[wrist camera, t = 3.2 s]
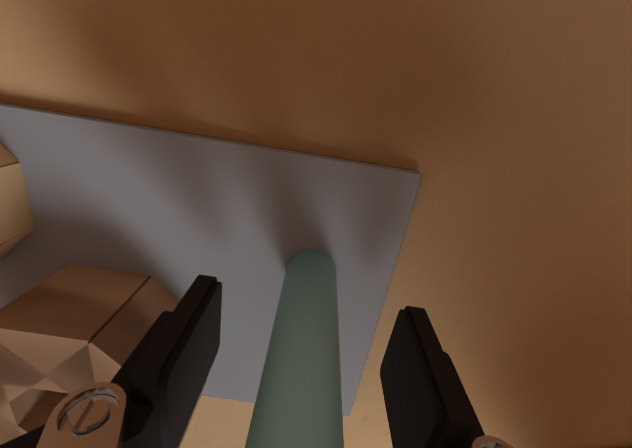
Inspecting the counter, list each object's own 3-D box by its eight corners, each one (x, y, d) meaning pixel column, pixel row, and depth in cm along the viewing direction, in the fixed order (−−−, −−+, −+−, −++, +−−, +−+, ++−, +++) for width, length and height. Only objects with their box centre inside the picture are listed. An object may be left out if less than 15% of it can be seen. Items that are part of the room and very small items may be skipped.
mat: (418, 171, 12) (422, 174, 12) (348, 407, 18) (349, 416, 18) (-185, 72, 12) (-206, 71, 11) (-61, 349, 17) (-71, 357, 17)
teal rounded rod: (342, 253, 13) (404, 1023, 2) (332, 296, 14) (345, 997, 3) (288, 244, 13) (98, 999, 2) (282, 289, 14) (125, 979, 3)
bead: (208, 284, 14) (167, 352, 11) (206, 414, 18) (174, 498, 14) (8, 253, 14) (-105, 313, 10) (47, 391, 18) (-27, 471, 14)
